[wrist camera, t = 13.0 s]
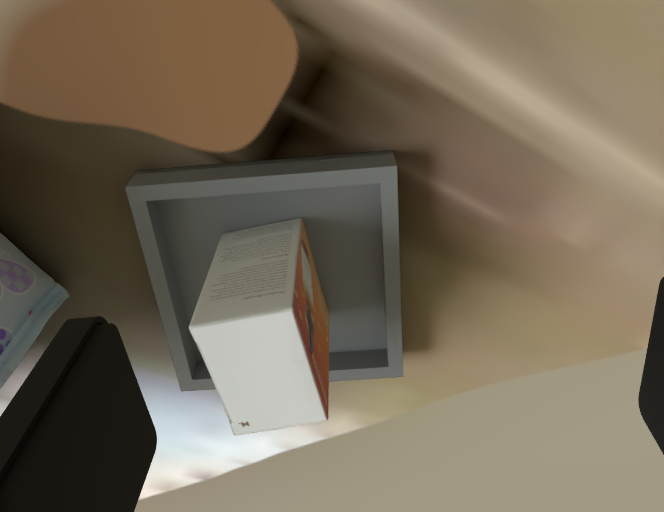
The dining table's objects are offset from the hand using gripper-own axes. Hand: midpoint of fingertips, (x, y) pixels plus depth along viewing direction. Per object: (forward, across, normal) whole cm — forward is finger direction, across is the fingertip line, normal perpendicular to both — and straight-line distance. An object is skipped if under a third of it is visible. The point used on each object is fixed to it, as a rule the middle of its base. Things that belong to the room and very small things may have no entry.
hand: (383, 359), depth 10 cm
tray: (+27, +7, +14) cm, 31 cm away
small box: (+26, +7, +14) cm, 31 cm away
